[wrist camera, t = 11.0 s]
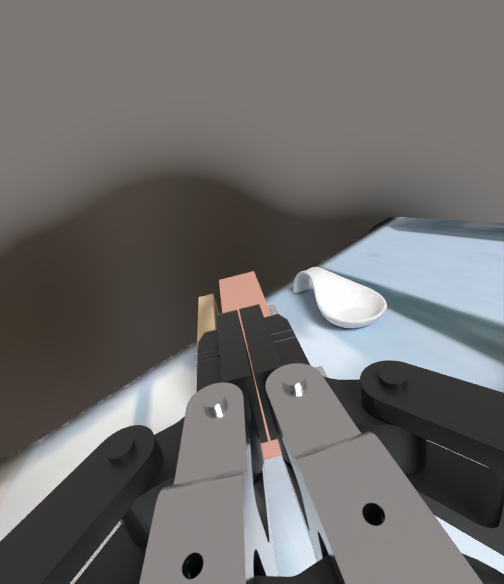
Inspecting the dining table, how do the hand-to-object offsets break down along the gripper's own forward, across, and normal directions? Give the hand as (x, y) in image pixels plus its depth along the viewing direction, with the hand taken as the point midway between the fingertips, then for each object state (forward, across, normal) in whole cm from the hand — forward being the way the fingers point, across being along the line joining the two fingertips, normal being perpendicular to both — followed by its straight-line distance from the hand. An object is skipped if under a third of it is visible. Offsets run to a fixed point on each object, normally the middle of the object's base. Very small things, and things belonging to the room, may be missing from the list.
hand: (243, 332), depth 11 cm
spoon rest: (+46, -18, +28) cm, 57 cm away
